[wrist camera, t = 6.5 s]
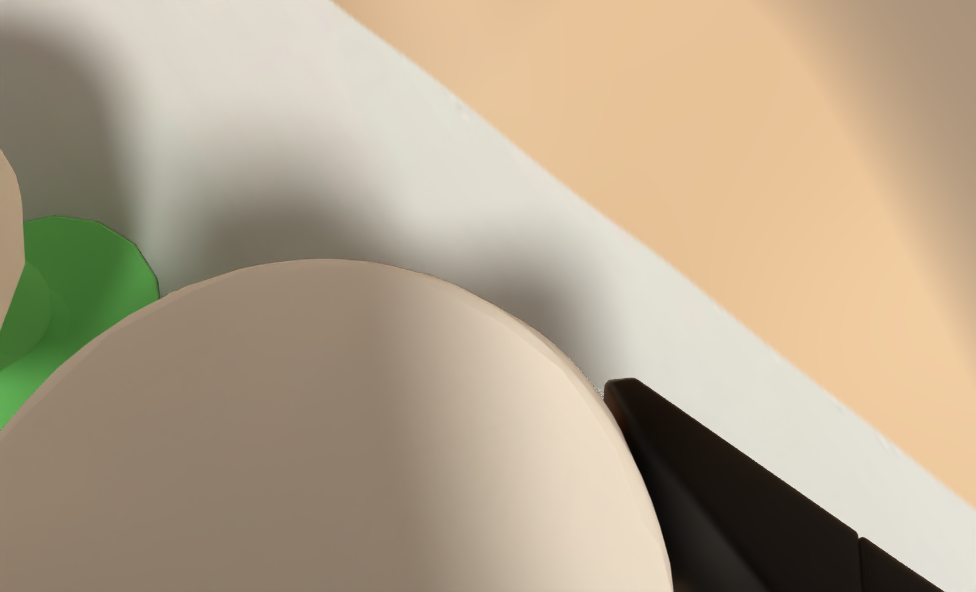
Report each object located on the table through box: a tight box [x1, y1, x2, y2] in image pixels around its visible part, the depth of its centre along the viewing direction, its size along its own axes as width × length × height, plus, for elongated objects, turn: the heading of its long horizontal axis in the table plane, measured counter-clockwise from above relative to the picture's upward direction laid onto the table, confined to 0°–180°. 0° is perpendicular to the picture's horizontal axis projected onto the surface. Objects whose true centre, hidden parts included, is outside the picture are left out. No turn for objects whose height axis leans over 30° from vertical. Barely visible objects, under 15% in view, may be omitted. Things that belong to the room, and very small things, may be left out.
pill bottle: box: [0, 259, 674, 592], centre depth 9 cm, size 6×6×11 cm
